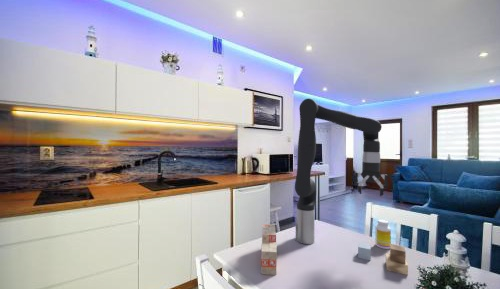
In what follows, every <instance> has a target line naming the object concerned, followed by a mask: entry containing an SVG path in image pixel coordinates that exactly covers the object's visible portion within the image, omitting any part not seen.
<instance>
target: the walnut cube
mask: <svg viewBox="0 0 500 289" xmlns="http://www.w3.org/2000/svg"><path fill="white" fill-rule="evenodd" d="M389 254H390V260H391V261H394V262H398V263H402V264H405V258H406V255H407V254H406V247H405V246H403V245H397V244H393V243H391V244H390V249H389Z"/></svg>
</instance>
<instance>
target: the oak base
mask: <svg viewBox="0 0 500 289" xmlns="http://www.w3.org/2000/svg"><path fill="white" fill-rule="evenodd" d="M408 265H409V264H408V262H407V259H406V257H405V264H402V263H398V262H394V261H391V260H390V253H385V266H386V271H390V272H393V273H394V272H395V273H397V274H401V275H407V276H408V275H409V266H408Z"/></svg>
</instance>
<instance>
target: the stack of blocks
mask: <svg viewBox="0 0 500 289" xmlns="http://www.w3.org/2000/svg"><path fill="white" fill-rule="evenodd" d="M261 232H262V233H261V235H262V237H261V248H260V249H261V259H260V274H261V275H269V276H270V275H272V276H273V275H274V276H276V275H277V260H278V250H277V249H278V248H277V234H276V233H277V232H276V224H262V229H261Z"/></svg>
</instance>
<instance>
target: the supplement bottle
mask: <svg viewBox="0 0 500 289" xmlns="http://www.w3.org/2000/svg"><path fill="white" fill-rule="evenodd" d="M374 230H375V231H374V232H375V238H374V239H375V241H374V243H375V245H376V246H377V247H378V248H380V249H384V250H390V244H392V243H391V242H392V241H391V240H392V237H391V236H392V232H391V231H392V228H391V227H390V226H389V221H388V220H385V219H377V224H376V225H375V229H374Z"/></svg>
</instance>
